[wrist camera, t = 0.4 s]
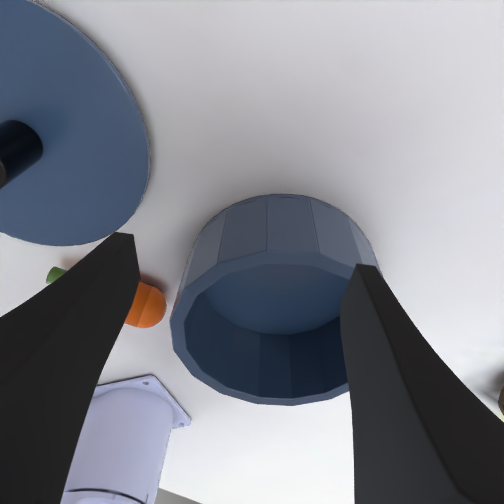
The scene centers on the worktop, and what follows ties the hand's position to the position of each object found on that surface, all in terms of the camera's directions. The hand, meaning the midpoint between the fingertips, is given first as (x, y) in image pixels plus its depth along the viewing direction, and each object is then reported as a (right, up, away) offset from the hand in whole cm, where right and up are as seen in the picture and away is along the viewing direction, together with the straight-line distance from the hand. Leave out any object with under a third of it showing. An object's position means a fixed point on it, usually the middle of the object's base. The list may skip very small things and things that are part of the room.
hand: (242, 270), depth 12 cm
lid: (-12, +7, +8) cm, 16 cm away
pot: (+2, -1, +14) cm, 14 cm away
